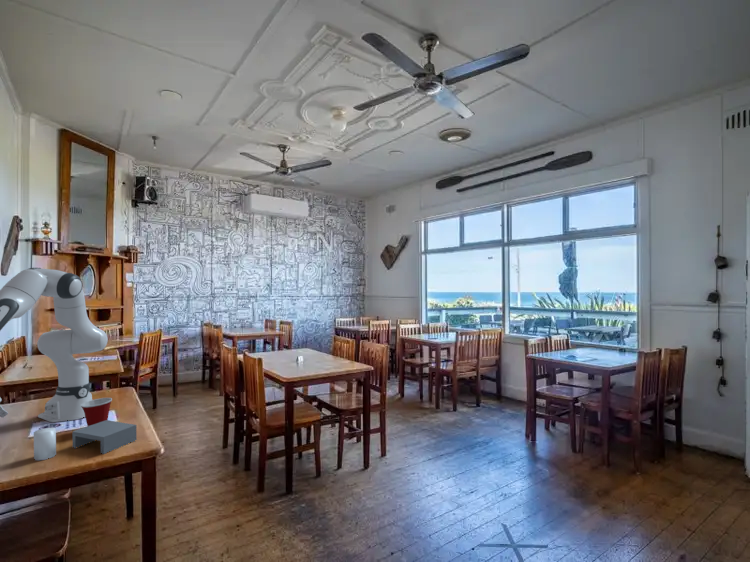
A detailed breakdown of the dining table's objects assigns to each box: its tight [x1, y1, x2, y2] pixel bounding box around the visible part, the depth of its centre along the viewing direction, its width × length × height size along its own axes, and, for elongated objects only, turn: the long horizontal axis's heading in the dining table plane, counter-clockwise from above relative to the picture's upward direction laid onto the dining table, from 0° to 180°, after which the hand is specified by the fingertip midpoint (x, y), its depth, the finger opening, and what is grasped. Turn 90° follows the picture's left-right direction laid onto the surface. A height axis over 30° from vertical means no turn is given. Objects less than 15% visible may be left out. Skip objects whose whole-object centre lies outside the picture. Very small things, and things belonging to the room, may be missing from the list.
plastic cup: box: [81, 397, 113, 426], centre depth 169 cm, size 11×11×12 cm
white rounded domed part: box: [33, 427, 57, 461], centre depth 143 cm, size 6×6×9 cm
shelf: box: [72, 420, 137, 455], centre depth 154 cm, size 16×13×6 cm
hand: (0, 419), depth 138 cm, fingers open, 8 cm apart
